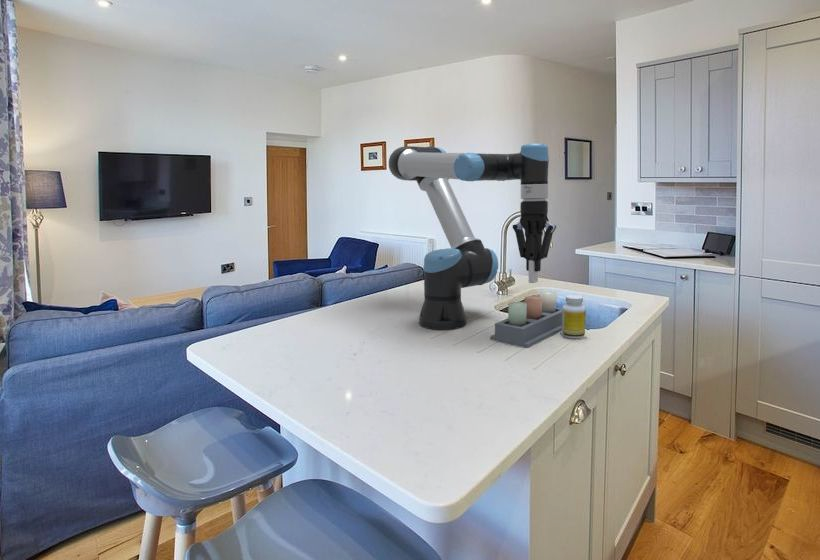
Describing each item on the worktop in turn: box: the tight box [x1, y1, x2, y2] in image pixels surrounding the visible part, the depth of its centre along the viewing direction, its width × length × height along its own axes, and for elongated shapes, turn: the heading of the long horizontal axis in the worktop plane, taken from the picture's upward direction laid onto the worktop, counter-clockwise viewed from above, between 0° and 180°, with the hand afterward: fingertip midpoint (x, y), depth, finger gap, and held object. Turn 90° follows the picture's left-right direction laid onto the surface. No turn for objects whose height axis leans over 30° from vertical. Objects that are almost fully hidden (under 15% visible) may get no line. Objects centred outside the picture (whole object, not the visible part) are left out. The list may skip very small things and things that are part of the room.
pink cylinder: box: [524, 295, 542, 320], centre depth 148 cm, size 5×5×6 cm
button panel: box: [489, 307, 562, 349], centre depth 149 cm, size 12×27×5 cm, turn 138°
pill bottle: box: [560, 294, 587, 340], centre depth 144 cm, size 6×6×12 cm
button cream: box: [538, 290, 557, 314], centre depth 155 cm, size 5×5×6 cm
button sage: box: [507, 301, 527, 327], centre depth 142 cm, size 5×5×6 cm
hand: (533, 282), depth 146 cm, fingers closed
